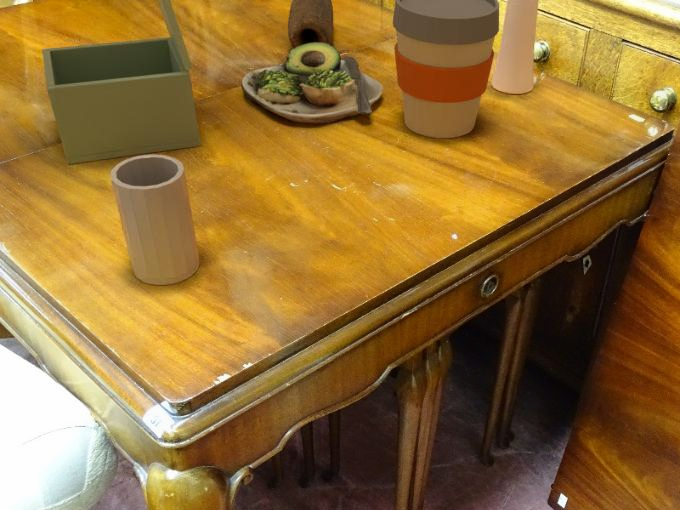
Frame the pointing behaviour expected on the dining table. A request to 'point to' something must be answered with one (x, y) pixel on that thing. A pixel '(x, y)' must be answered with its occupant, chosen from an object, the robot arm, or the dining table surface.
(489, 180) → the dining table surface
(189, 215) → the pinkish-brown cup
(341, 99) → the avocado toast plate
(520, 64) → the cosmetic bottle
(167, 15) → the box lid
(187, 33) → the dining table surface
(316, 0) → the stone weight
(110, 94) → the storage box
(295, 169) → the dining table surface
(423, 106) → the reusable coffee cup
